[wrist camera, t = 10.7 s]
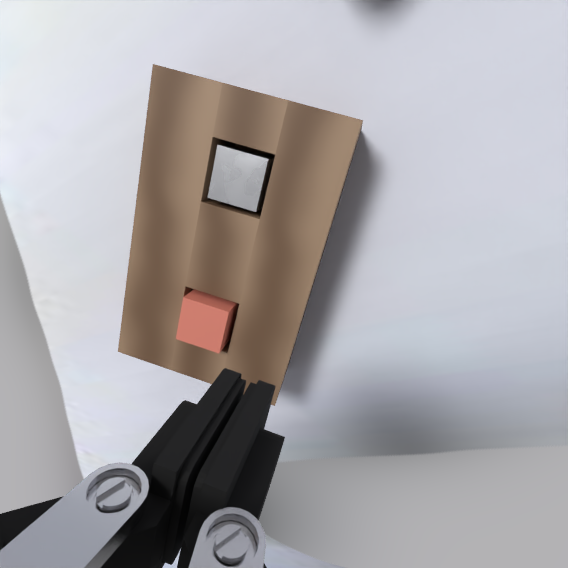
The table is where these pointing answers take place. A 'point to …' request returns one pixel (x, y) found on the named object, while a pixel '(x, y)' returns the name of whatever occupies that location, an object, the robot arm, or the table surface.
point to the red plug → (206, 320)
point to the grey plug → (240, 177)
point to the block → (230, 224)
